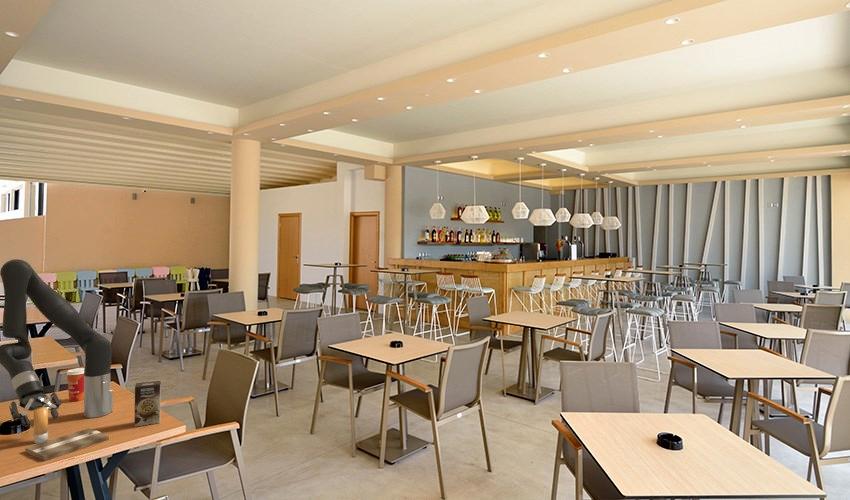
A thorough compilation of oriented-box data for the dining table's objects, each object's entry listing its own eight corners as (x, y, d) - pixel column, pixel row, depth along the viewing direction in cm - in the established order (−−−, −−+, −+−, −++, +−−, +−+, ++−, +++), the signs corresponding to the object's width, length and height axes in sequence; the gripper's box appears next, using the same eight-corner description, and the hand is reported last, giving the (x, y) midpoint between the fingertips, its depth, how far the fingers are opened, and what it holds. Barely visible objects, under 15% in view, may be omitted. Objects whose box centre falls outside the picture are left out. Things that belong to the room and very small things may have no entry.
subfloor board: (88, 432, 183) (88, 427, 183) (108, 439, 176) (108, 434, 176) (25, 451, 165) (25, 446, 165) (44, 461, 158) (44, 455, 158)
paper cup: (62, 401, 218) (62, 371, 217) (80, 396, 225) (79, 367, 225) (73, 403, 215) (73, 372, 214) (90, 398, 222) (90, 368, 222)
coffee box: (134, 427, 188) (133, 386, 187) (135, 421, 193) (135, 382, 193) (160, 423, 192) (160, 383, 192) (160, 418, 198) (160, 379, 197)
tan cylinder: (44, 438, 177) (44, 406, 177) (50, 440, 175) (49, 408, 175) (31, 442, 173) (31, 409, 173) (37, 444, 171) (36, 411, 171)
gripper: (7, 385, 171) (21, 422, 166) (53, 375, 184) (68, 410, 178) (0, 397, 174) (14, 434, 168) (46, 387, 186) (61, 421, 181)
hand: (42, 422), depth 173 cm, fingers open, 8 cm apart
